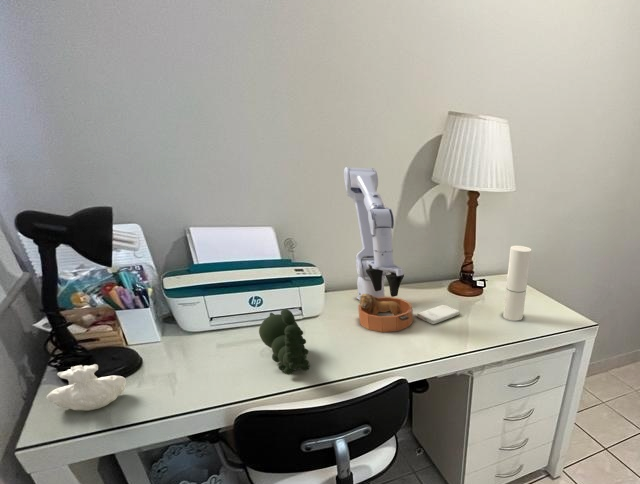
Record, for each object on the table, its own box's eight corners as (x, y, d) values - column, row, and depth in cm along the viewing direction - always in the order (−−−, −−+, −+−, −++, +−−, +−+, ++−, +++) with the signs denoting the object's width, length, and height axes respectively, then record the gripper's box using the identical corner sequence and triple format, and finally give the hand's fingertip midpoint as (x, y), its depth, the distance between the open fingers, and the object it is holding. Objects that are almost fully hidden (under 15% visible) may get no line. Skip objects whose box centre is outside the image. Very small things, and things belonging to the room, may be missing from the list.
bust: (61, 424, 85) (43, 405, 76) (48, 392, 86) (29, 370, 77) (136, 403, 92) (127, 384, 84) (123, 374, 93) (114, 352, 85)
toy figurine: (322, 382, 106) (293, 335, 121) (315, 317, 96) (283, 274, 110) (282, 392, 101) (257, 342, 115) (270, 325, 90) (243, 279, 105)
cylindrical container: (523, 314, 154) (532, 247, 141) (521, 321, 148) (530, 252, 135) (504, 311, 154) (511, 244, 142) (502, 319, 148) (509, 249, 135)
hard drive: (459, 315, 147) (433, 324, 138) (442, 308, 151) (417, 317, 142) (459, 311, 146) (433, 320, 137) (443, 304, 150) (417, 312, 141)
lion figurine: (360, 323, 133) (358, 297, 128) (360, 316, 137) (359, 290, 132) (407, 323, 137) (407, 297, 133) (406, 316, 141) (406, 291, 137)
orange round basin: (346, 317, 136) (344, 303, 133) (387, 305, 148) (387, 292, 145) (384, 338, 126) (383, 323, 124) (425, 323, 138) (425, 310, 136)
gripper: (356, 247, 126) (361, 290, 132) (389, 256, 119) (391, 301, 126) (375, 245, 132) (378, 286, 138) (407, 253, 125) (409, 296, 131)
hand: (386, 293), depth 132 cm, fingers open, 7 cm apart
